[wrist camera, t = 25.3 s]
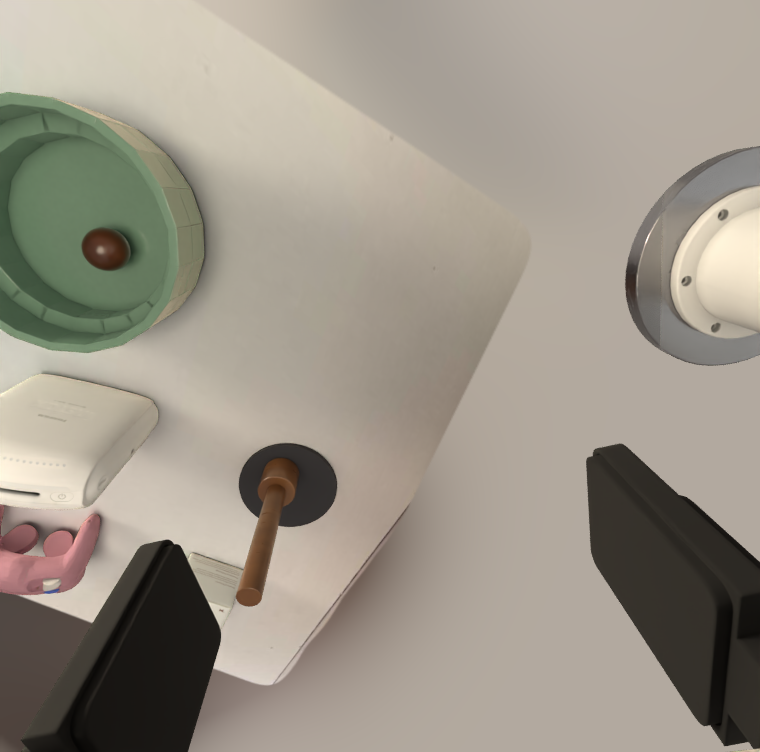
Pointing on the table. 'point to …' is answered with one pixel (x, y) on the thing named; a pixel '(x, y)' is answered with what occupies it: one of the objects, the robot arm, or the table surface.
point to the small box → (216, 584)
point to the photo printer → (67, 440)
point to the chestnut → (106, 249)
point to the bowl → (88, 227)
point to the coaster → (311, 488)
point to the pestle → (267, 527)
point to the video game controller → (45, 558)
